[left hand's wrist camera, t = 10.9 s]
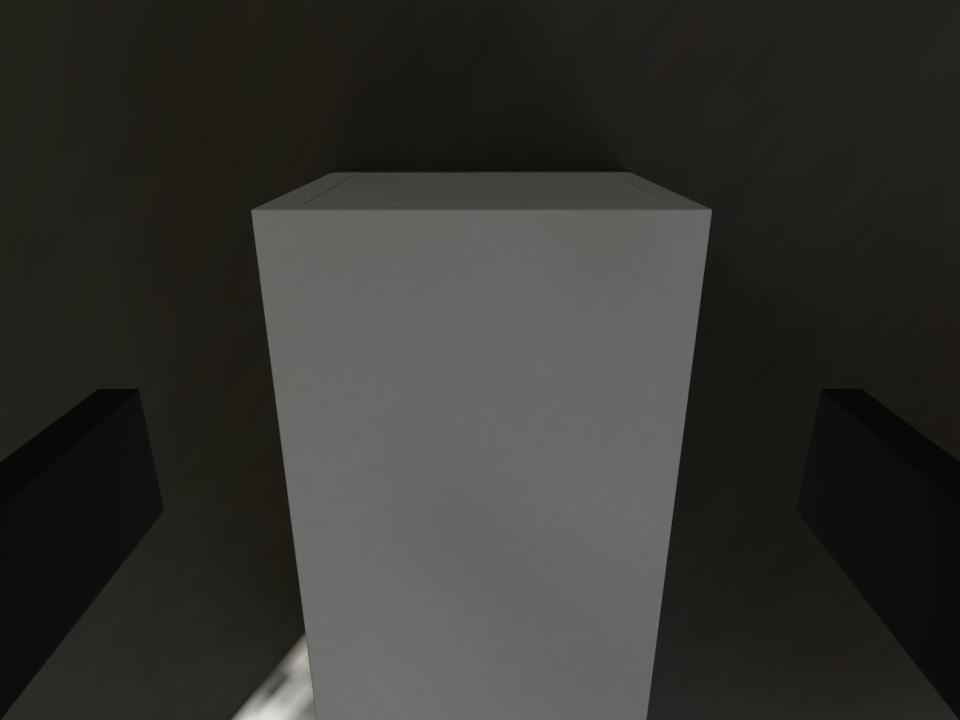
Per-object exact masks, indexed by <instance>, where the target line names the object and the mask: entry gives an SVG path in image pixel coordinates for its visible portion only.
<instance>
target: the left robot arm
mask: <svg viewBox="0 0 960 720" xmlns="http://www.w3.org/2000/svg"><path fill="white" fill-rule="evenodd" d="M163 511H164V508H163V503H162V499H161V494H160V489H159V484H158V480H157V475H156V470H155V465H154V461H153V456H152V451H151V447H150V442H149V437H148V432H147V428H146V423H145V418H144V413H143V409H142V404H141V399H140V394H139V390H138V389H98V390H97V391H95V392H94V393H93V394H91V395H90V396H89V397H87V398H86V399H84V400H83V401H82V402H80V403H79V404H78V405H76V406H75V407H74V408H72V409H71V410H70V411H68V412H67V413H66V414H64V415H63V416H62V417H60V418H59V419H58V420H56V421H55V422H54V423H52V424H51V425H50V426H48V427H47V428H46V429H44V430H43V431H41V432H40V433H39V434H37V435H36V436H35V437H33V438H32V439H31V440H29V441H28V442H27V443H25V444H24V445H23V446H21V447H20V448H19V449H17V450H16V451H15V452H13V453H12V454H11V455H9V456H8V457H7V458H5V459H4V460H3V461H1V462H0V720H1V719H2V718H3V716H4V715H5V714H6V712H7V711H8V710H9V709H10V707H11V706H12V705H13V703H14V702H15V701H16V700H17V698H18V697H19V696H20V694H21V693H22V692H23V691H24V689H25V688H26V687H27V685H28V684H29V683H30V682H31V680H32V679H33V678H34V677H35V675H36V674H37V673H38V671H39V670H40V669H41V668H42V666H43V665H44V664H45V662H46V661H47V660H48V659H49V657H50V656H51V655H52V653H53V652H54V651H55V650H56V648H57V647H58V646H59V644H60V643H61V642H62V641H63V639H64V638H65V637H66V635H67V634H68V633H69V632H70V630H71V629H72V628H73V626H74V625H75V624H76V623H77V621H78V620H79V619H80V618H81V616H82V615H83V614H84V612H85V611H86V610H87V609H88V607H89V606H90V605H91V603H92V602H93V601H94V600H95V598H96V597H97V596H98V594H99V593H100V592H101V591H102V589H103V588H104V587H105V585H106V584H107V583H108V582H109V580H110V579H111V578H112V576H113V575H114V574H115V573H116V571H117V570H118V569H119V568H120V566H121V565H122V564H123V562H124V561H125V560H126V559H127V557H128V556H129V555H130V553H131V552H132V551H133V550H134V548H135V547H136V546H137V544H138V543H139V542H140V541H141V539H142V538H143V537H144V535H145V534H146V533H147V532H148V530H149V529H150V528H151V526H152V525H153V524H154V523H155V521H156V520H157V519H158V517H159V516H160V515H161V514H162V512H163ZM796 511H797V512H798V514H799V515H800V516H801V517H802V519H803V520H804V521H805V523H806V524H807V525H808V526H809V528H810V529H811V530H812V532H813V533H814V534H815V535H816V537H817V538H818V539H819V541H820V542H821V543H822V544H823V546H824V547H825V548H826V550H827V551H828V552H829V553H830V555H831V556H832V557H833V559H834V560H835V561H836V562H837V564H838V565H839V566H840V568H841V569H842V570H843V571H844V573H845V574H846V575H847V576H848V578H849V579H850V580H851V582H852V583H853V584H854V585H855V587H856V588H857V589H858V591H859V592H860V593H861V594H862V596H863V597H864V598H865V600H866V601H867V602H868V603H869V605H870V606H871V607H872V609H873V610H874V611H875V612H876V614H877V615H878V616H879V618H880V619H881V620H882V621H883V623H884V624H885V625H886V626H887V628H888V629H889V630H890V632H891V633H892V634H893V635H894V637H895V638H896V639H897V641H898V642H899V643H900V644H901V646H902V647H903V648H904V650H905V651H906V652H907V653H908V655H909V656H910V657H911V659H912V660H913V661H914V662H915V664H916V665H917V666H918V668H919V669H920V670H921V671H922V673H923V674H924V675H925V677H926V678H927V679H928V680H929V682H930V683H931V684H932V685H933V687H934V688H935V689H936V691H937V692H938V693H939V694H940V696H941V697H942V698H943V700H944V701H945V702H946V703H947V705H948V706H949V707H950V709H951V710H952V711H953V712H954V714H955V715H956V716H957V718H958V719H959V720H960V462H959V461H957V460H956V459H955V458H953V457H952V456H951V455H949V454H948V453H947V452H945V451H944V450H943V449H941V448H940V447H939V446H937V445H936V444H935V443H933V442H932V441H931V440H929V439H928V438H927V437H925V436H924V435H923V434H921V433H920V432H919V431H917V430H916V429H914V428H913V427H912V426H910V425H909V424H908V423H906V422H905V421H904V420H902V419H901V418H900V417H898V416H897V415H896V414H894V413H893V412H892V411H890V410H889V409H888V408H886V407H885V406H884V405H882V404H881V403H880V402H878V401H877V400H876V399H874V398H873V397H871V396H870V395H869V394H867V393H866V392H865V391H863V390H862V389H822V390H821V394H820V399H819V404H818V409H817V413H816V418H815V423H814V428H813V432H812V437H811V442H810V446H809V451H808V456H807V461H806V465H805V470H804V475H803V480H802V484H801V489H800V494H799V499H798V503H797V508H796Z"/></svg>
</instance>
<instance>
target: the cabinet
mask: <svg viewBox="0 0 960 720" xmlns="http://www.w3.org/2000/svg"><path fill="white" fill-rule="evenodd" d="M251 212H252V220H253V228H254V236H255V243H256V251H257V259H258V267H259V275H260V282H261V290H262V298H263V306H264V313H265V321H266V329H267V337H268V345H269V352H270V360H271V368H272V376H273V383H274V391H275V399H276V407H277V415H278V422H279V430H280V438H281V446H282V453H283V461H284V469H285V477H286V485H287V492H288V500H289V508H290V516H291V523H292V531H293V539H294V547H295V554H296V562H297V570H298V578H299V586H300V593H301V601H302V609H303V617H304V624H305V632H306V640H307V648H308V656H309V663H310V671H311V679H312V687H313V694H314V702H315V710H316V718H317V720H646V718H647V710H648V703H649V695H650V687H651V679H652V672H653V664H654V656H655V648H656V641H657V633H658V625H659V618H660V610H661V602H662V594H663V587H664V579H665V571H666V563H667V556H668V548H669V540H670V532H671V525H672V517H673V509H674V501H675V494H676V486H677V478H678V470H679V463H680V455H681V447H682V439H683V432H684V424H685V416H686V409H687V401H688V393H689V385H690V378H691V370H692V362H693V354H694V347H695V339H696V331H697V323H698V316H699V308H700V300H701V292H702V285H703V277H704V269H705V261H706V254H707V246H708V238H709V230H710V223H711V215H712V209H709V208H707V207H705V206H703V205H701V204H698V203H696V202H694V201H692V200H689V199H687V198H685V197H683V196H681V195H678V194H676V193H674V192H672V191H670V190H668V189H665V188H663V187H661V186H659V185H657V184H654V183H652V182H650V181H648V180H646V179H643V178H641V177H639V176H637V175H635V174H632V172H630V171H628V170H335V171H332V172H330V174H328V175H326V176H324V177H322V178H319V179H317V180H315V181H313V182H311V183H309V184H306V185H304V186H302V187H300V188H298V189H296V190H294V191H291V192H289V193H287V194H285V195H283V196H281V197H278V198H276V199H274V200H272V201H270V202H268V203H266V204H263V205H261V206H259V207H257V208H255V209H252V211H251Z"/></svg>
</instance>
